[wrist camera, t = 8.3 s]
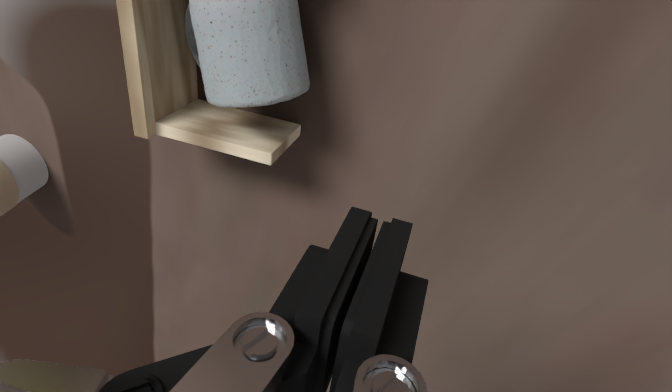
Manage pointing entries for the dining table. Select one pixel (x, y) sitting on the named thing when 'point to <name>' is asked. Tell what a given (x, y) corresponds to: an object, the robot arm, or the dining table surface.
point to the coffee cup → (19, 171)
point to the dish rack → (186, 89)
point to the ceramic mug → (248, 50)
